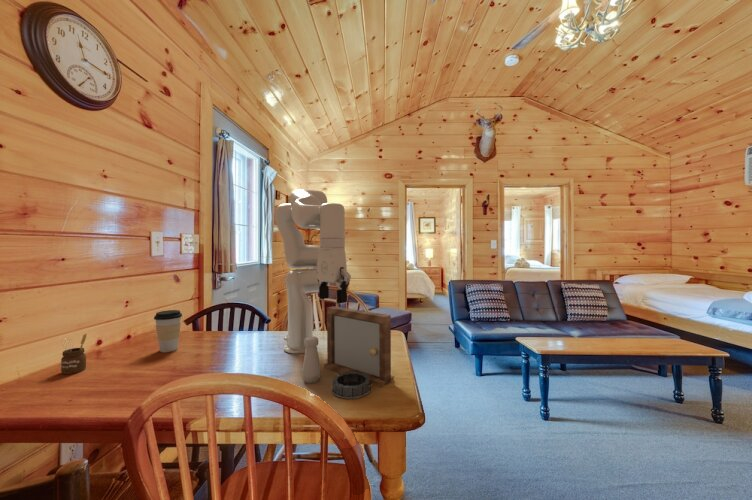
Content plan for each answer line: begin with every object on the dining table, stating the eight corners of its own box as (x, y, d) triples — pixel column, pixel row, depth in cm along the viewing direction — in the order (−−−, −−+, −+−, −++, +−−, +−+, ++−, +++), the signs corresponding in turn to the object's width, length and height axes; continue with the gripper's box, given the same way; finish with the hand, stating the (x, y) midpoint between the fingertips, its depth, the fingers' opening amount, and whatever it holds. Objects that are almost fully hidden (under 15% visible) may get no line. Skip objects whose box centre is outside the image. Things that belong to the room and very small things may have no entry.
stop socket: (323, 391, 87) (323, 381, 87) (349, 378, 96) (349, 368, 96) (353, 403, 81) (353, 392, 81) (378, 387, 89) (378, 377, 89)
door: (331, 364, 103) (331, 316, 103) (337, 361, 106) (337, 314, 106) (377, 379, 92) (377, 324, 92) (383, 375, 94) (383, 322, 94)
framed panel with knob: (324, 367, 104) (323, 308, 104) (336, 362, 109) (336, 305, 109) (382, 387, 90) (381, 318, 90) (393, 380, 95) (393, 314, 94)
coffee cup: (172, 353, 119) (172, 314, 118) (148, 353, 119) (147, 314, 119) (187, 346, 128) (187, 309, 128) (165, 346, 128) (164, 309, 128)
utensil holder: (69, 368, 105) (68, 333, 104) (91, 366, 106) (91, 331, 106) (55, 375, 99) (55, 338, 99) (79, 373, 100) (79, 336, 100)
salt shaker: (316, 385, 91) (316, 340, 91) (298, 383, 93) (298, 339, 92) (323, 377, 97) (323, 335, 97) (306, 375, 98) (306, 334, 98)
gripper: (307, 244, 99) (307, 298, 99) (338, 244, 86) (338, 306, 86) (327, 244, 104) (327, 295, 104) (359, 244, 91) (359, 303, 91)
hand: (332, 300), depth 95 cm, fingers open, 9 cm apart
